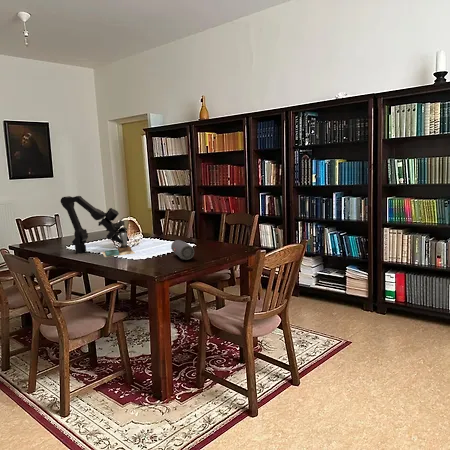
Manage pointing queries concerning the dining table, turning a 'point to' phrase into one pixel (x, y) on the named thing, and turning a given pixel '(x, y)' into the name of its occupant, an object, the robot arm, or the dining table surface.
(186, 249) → the bluetooth speaker
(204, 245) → the dining table surface
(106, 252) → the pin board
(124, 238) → the pin
